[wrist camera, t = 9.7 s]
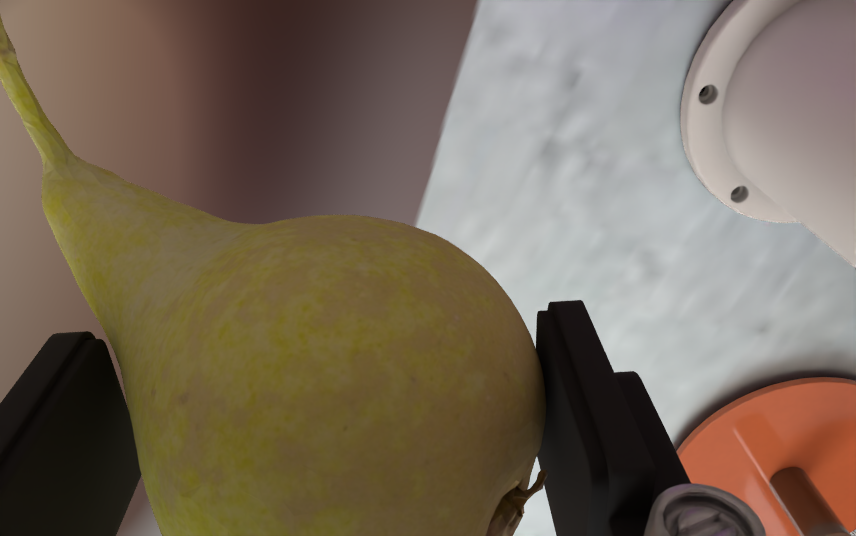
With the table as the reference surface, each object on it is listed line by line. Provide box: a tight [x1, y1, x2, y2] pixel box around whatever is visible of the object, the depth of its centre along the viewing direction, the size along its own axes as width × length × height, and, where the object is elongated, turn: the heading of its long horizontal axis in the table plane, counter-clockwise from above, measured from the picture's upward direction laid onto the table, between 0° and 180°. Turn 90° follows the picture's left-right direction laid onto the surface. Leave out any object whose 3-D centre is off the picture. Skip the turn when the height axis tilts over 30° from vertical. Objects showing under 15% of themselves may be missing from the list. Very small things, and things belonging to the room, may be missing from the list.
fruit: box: [0, 16, 548, 536], centre depth 12 cm, size 7×8×12 cm
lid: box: [676, 377, 856, 536], centre depth 42 cm, size 16×16×6 cm
